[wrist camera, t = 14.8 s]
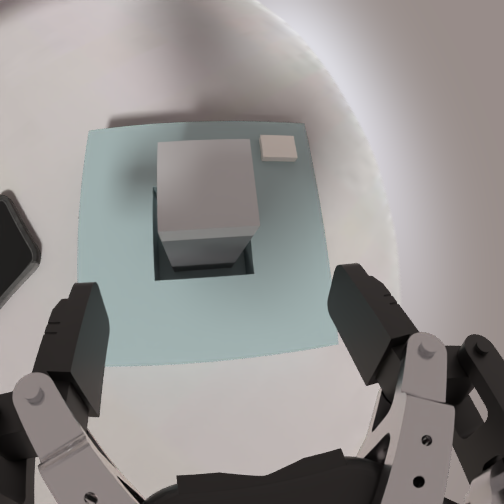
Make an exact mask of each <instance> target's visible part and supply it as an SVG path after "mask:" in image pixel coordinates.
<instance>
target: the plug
mask: <svg viewBox="0 0 504 504" xmlns="http://www.w3.org/2000/svg"><path fill="white" fill-rule="evenodd" d="M157 224H158V234H159V236H160V239H161V241H162V244H163V246H164V249H165V251H166V254H167V256H168V258H169V261H170V263H171V266H172V268H173V270H174V272H178V271H192V270H206V269H220V268H232V266H233V265H234V263H235V262H236V260H237V259H238V257H239V256H240V254H241V253H242V251H243V250H244V249H245V247H246V246H247V244H248V243H249V241H250V240H251V238H252V237H253V235H254V234H255V232H256V231H257V229H258V228H259V227H260V220H259V211H258V203H257V195H256V186H255V178H254V170H253V162H252V154H251V146H250V139H216V140H189V141H171V142H158V150H157Z"/></svg>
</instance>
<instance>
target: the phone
mask: <svg viewBox="0 0 504 504" xmlns="http://www.w3.org/2000/svg"><path fill="white" fill-rule="evenodd" d="M33 242H34V240H33V239H32V237H31V235H30V234H29V232H28V230H27V228H26V226H25V225H24V223H23V221H22V219H21V217H20V216H19V214H18V212H17V210H16V208H15V206H14V204H13V202H12V201H11V200H10V199H9V198H8V197H7V196H5V195H0V309H1V308H2V306H3V305H4V304H5V303H6V302H7V301H8V300H9V298H10V297H11V296H12V295H13V294H14V293H15V292H16V291H17V290H18V289H19V287H20V286H21V285H22V284H23V283H24V282H25V281H26V280H27V279H28V278H29V277H30V276H31V275H32V274H33V273H34V272H35V271H36V269H37V268H38V267H39V264H40V260H41V255H40V251H39V249H38V247H37V245H36V244H35V242H34V243H33Z"/></svg>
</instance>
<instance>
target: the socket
mask: <svg viewBox="0 0 504 504" xmlns="http://www.w3.org/2000/svg"><path fill="white" fill-rule="evenodd" d="M216 139H250V146H251V154H252V162H253V170H254V178H255V186H256V195H257V203H258V211H259V220H260V227H259V228H258V229H257V231H256V232H255V234H254V235H253V237H252V238H251V240H250V241H249V243H248V244H247V246H246V247H245V249H244V250H243V251H242V253H241V254H240V256H239V257H238V259H237V260H236V262H235V263H234V265H233V266H232V268H220V269H206V270H192V271H178V272H174V270H173V268H172V266H171V263H170V261H169V258H168V256H167V254H166V251H165V249H164V246H163V244H162V241H161V239H160V236H159V234H158V224H157V150H158V142H171V141H189V140H216ZM77 277H78V283H84V282H96V283H97V284H98V286H99V289H100V292H101V296H102V299H103V302H104V305H105V309H106V312H107V315H108V318H109V325H110V334H109V341H108V347H107V354H106V361H105V366H152V365H172V364H188V363H201V362H213V361H224V360H234V359H243V358H252V357H260V356H268V355H275V354H282V353H289V352H296V351H302V350H308V349H315V348H320V347H326V346H332V345H337V344H338V334H337V328H336V327H335V325H334V323H333V321H332V319H331V317H330V315H329V312H328V307H327V300H328V296H329V292H330V288H331V284H332V281H331V273H330V266H329V259H328V252H327V245H326V238H325V232H324V225H323V219H322V213H321V207H320V201H319V196H318V190H317V185H316V179H315V174H314V169H313V163H312V158H311V153H310V148H309V144H308V139H307V134H306V129H305V125H304V124H303V123H286V122H261V121H199V122H175V123H158V124H145V125H134V126H124V127H114V128H106V129H98V130H91V131H89V133H88V140H87V146H86V153H85V160H84V168H83V176H82V186H81V197H80V209H79V226H78V258H77Z"/></svg>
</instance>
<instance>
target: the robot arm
mask: <svg viewBox="0 0 504 504" xmlns="http://www.w3.org/2000/svg"><path fill="white" fill-rule="evenodd" d="M327 307H328V312H329V315H330V317H331V319H332V321H333V323H334V325H335V327H336V328H337V330H338V332H339V334H340V336H341V338H342V340H343V342H344V344H345V346H346V347H347V349H348V351H349V353H350V355H351V357H352V359H353V361H354V363H355V365H356V367H357V369H358V371H359V373H360V375H361V377H362V379H363V380H364V382H365V384H366V386H368V385H372V384H375V383H379V385H380V387H381V388H380V390H379V391H378V395H377V399H376V403H375V406H374V410H373V414H372V418H371V421H370V425H369V428H368V432H367V435H366V438H365V440H364V442H363V444H362V446H361V447H360V449H359V451H358V454H357V456H356V457H348V456H345V457H344V455H343V452H342V450H341V448H340V449H337V450H333V451H330V452H326V453H322V454H318V455H314V456H310V457H306V458H303V459H301V460H299V461H297V462H295V463H293V464H291V465H289V466H286V467H284V468H282V469H280V470H278V471H276V472H273V473H271V474H269V475H266V476H251V475H238V474H227V473H209V474H196V475H179V476H177V484H175V485H171V486H169V487H166V488H164V489H161V490H160V491H158V492H156V493H154V494H153V495H151V496H150V497H149V498H147V499H145V498H144V497H143V496H142V495H141V494H140V493H139V492H138V490H137V489H136V488H135V487H134V486H133V485H132V484H131V483H130V482H129V481H128V480H127V479H126V478H125V476H124V475H123V474H122V473H121V472H120V471H119V469H118V468H117V467H116V466H115V464H114V463H113V462H112V461H111V459H110V458H109V457H108V456H107V454H106V453H105V452H104V450H103V449H102V448H101V446H100V445H99V443H98V442H97V441H96V439H95V438H94V436H93V435H92V434H91V432H90V431H89V429H88V428H87V423H88V417H99V416H100V404H101V394H102V385H103V376H104V368H105V361H106V354H107V347H108V341H109V334H110V325H109V318H108V315H107V312H106V309H105V305H104V302H103V299H102V296H101V292H100V289H99V286H98V284H97V283H96V282H84V283H75V284H74V285H73V287H72V290H71V292H70V295H69V298H68V299H61V301H60V302H59V303H58V304H57V305H56V306H55V308H54V309H53V310H52V313H51V315H50V318H49V321H48V325H47V327H46V329H45V335H43V338H42V341H41V344H40V348H39V351H38V354H37V357H36V361H35V364H34V368H33V371H32V373H30V374H28V375H26V376H24V377H23V378H21V379H20V380H19V381H18V383H17V384H16V386H15V388H14V390H13V392H9V393H5V394H0V504H34V473H35V457H39V459H40V462H41V464H39V465H38V469H39V472H40V474H41V476H42V478H43V480H44V481H45V483H46V485H47V487H48V488H49V490H50V491H51V493H52V495H53V496H54V498H55V500H56V501H57V503H58V504H457V503H456V502H453V501H451V500H449V499H447V498H445V497H444V495H445V490H446V485H447V478H448V473H449V466H450V459H451V451H452V445H453V448H454V450H455V452H456V454H457V456H458V458H459V461H460V463H461V465H462V468H463V470H464V472H465V474H466V477H467V479H468V482H469V484H470V488H469V492H468V493H467V494H466V495H465V498H464V502H465V504H504V360H503V359H502V357H501V356H500V354H499V353H498V351H497V350H496V349H495V347H494V346H493V344H492V343H491V342H490V341H489V340H487V339H486V338H485V337H483V336H480V335H476V334H473V335H470V336H468V337H467V338H466V340H465V341H464V343H463V344H462V346H444V344H443V343H442V342H441V340H440V339H438V338H437V337H436V336H434V335H432V334H429V333H424V332H419V331H418V330H417V328H416V327H415V326H414V324H413V323H412V321H411V320H410V319H409V317H408V316H407V315H406V313H405V312H404V311H403V309H402V308H401V307H400V305H399V304H397V301H396V300H395V299H394V297H393V296H391V293H390V292H389V291H388V289H387V288H386V287H385V286H384V284H383V283H381V282H380V281H378V280H377V279H376V278H374V277H373V276H369V275H368V274H367V273H366V272H365V270H364V269H363V268H362V266H361V265H360V264H358V263H354V264H343V265H338V266H337V267H336V268H335V271H334V275H333V280H332V284H331V288H330V292H329V296H328V300H327ZM474 387H475V389H476V390H477V392H478V394H479V395H480V397H481V399H482V400H483V402H484V404H485V405H486V408H487V411H488V417H487V420H486V422H485V423H484V422H483V420H482V418H481V416H480V414H479V412H478V410H477V409H476V407H475V405H474V403H473V401H472V400H471V398H470V396H469V393H470V392H471V391H472V390H473V388H474Z"/></svg>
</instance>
